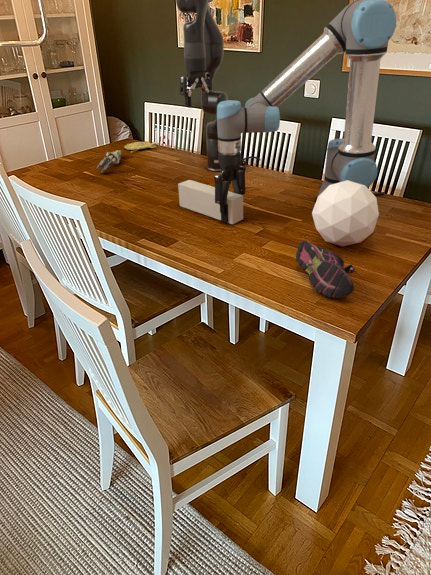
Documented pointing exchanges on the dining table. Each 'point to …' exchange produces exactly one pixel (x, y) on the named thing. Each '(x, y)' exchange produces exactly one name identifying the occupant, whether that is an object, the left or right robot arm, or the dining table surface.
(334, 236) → the sphere
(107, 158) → the figurine
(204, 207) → the bar
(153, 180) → the dining table surface
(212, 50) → the left robot arm
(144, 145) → the decorative object
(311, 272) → the athletic shoe
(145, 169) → the dining table surface
